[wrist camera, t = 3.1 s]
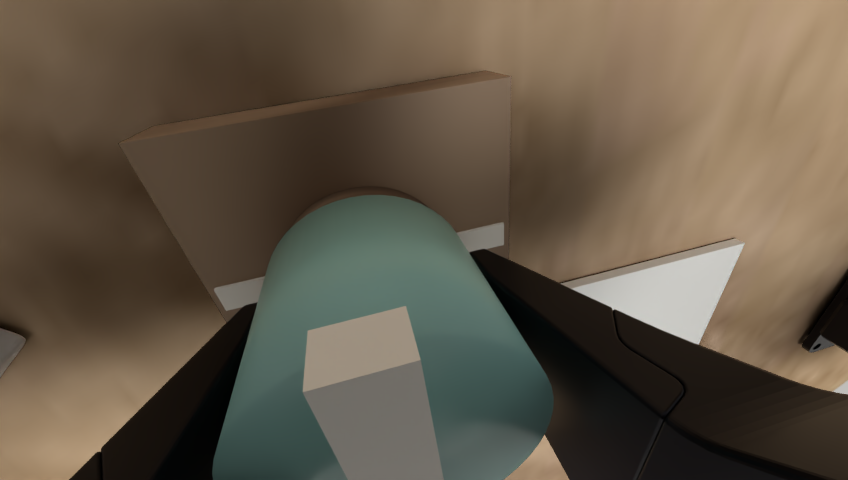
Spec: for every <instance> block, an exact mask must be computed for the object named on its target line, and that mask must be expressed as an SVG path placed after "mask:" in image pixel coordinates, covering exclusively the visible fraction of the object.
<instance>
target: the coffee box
mask: <svg viewBox="0 0 848 480" xmlns="http://www.w3.org/2000/svg"><path fill="white" fill-rule="evenodd" d="M25 342H26V339H25V338H24V337H23V336H21V335H19V334H17V333H14V332H11V331H8V330H5V329H2V328H0V377H1V376H2V374H3V373H4V371H5V370H6V369H7V367H8V366H9V365H10V363H11V362H12V361H13V359H14V358H15V357H16V355H17V354H18V352H19V351H20V350H21V348H22V347H23V346H24V344H25Z"/></svg>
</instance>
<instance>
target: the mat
mask: <svg viewBox="0 0 848 480" xmlns="http://www.w3.org/2000/svg"><path fill="white" fill-rule="evenodd" d="M744 244H745V243H744V242H742V241H740V240H738V239H736V238H735V239H731V240H727V241H723V242H719V243H715V244H711V245H708V246H704V247H700V248H696V249H692V250H688V251H684V252H681V253H677V254H673V255H669V256H665V257H661V258H657V259H653V260H650V261H646V262H642V263H638V264H634V265H630V266H626V267H623V268H619V269H615V270H611V271H607V272H603V273H599V274H596V275H592V276H588V277H584V278H580V279H576V280H572V281H569V282H565V283H561V284H562V285H564V286H566V287H569V288H571V289H573V290H575V291H577V292H579V293H582V294H584V295H586V296H588V297H590V298H592V299H594V300H597V301H599V302H601V303H603V304H605V305H607V306H609V307H611V308H612V310H614V309H616V310H618V311H621V312H623V313H625V314H627V315H629V316H631V317H633V318H636V319H638V320H640V321H643V322H645V323H647V324H649V325H652V326H654V327H656V328H658V329H661V330H663V331H665V332H668V333H670V334H673V335H675V336H678V337H680V338H683V339H685V340H688V341H690V342H693V343H695V344H699V342H700V340H701V338H702V336H703V334H704V331H705V329H706V327H707V325H708V323H709V320H710V318H711V316H712V314H713V312H714V310H715V307H716V305H717V303H718V301H719V299H720V296H721V294H722V292H723V290H724V288H725V286H726V283H727V281H728V279H729V277H730V275H731V272H732V270H733V268H734V266H735V264H736V262H737V259H738V257H739V255H740V253H741V251H742V248H743V246H744Z"/></svg>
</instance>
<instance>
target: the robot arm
mask: <svg viewBox="0 0 848 480" xmlns="http://www.w3.org/2000/svg"><path fill="white" fill-rule="evenodd" d="M469 253H470V255H471V256H472V258H473V260H474V261H475V263H476V264H477V266H478V267H479V269H480V271H481V272H482V274H483V275H484V277H485V279H486V280H487V282H488V283H489V285H490V286H491V288H492V290H493V291H494V293H495V294H496V296H497V298H498V299H499V301H500V302H501V304H502V305H503V307H504V309H505V310H506V312H507V313H508V315H509V316H510V318H511V320H512V321H513V323H514V324H515V326H516V328H517V329H518V331H519V332H520V334H521V335H522V337H523V339H524V340H525V342H526V343H527V345H528V347H529V348H530V350H531V351H532V353H533V354H534V356H535V358H536V359H537V361H538V362H539V364H540V365H541V367H542V369H543V370H544V372H545V373H546V375H547V377H548V379H549V382H550V384H551V386H552V391H553V397H554V403H553V412H552V417H551V421H550V423H549V426H548V428H547V430H546V433H545V436H546V438H547V439H548V441H549V443H550V445H551V447H552V448H553V450H554V452H555V454H556V456H557V458H558V459H559V461H560V463H561V465H562V467H563V468H564V470H565V472H566V474H567V476H568V477H569V479H570V480H848V395H847V394H840V393H835V392H831V391H826V390H822V389H818V388H814V387H811V386H807V385H804V384H800V383H798V382H795V381H792V380H789V379H786V378H784V377H781V376H778V375H776V374H773V373H771V372H768V371H765V370H763V369H760V368H758V367H755V366H752V365H750V364H747V363H745V362H742V361H739V360H737V359H734V358H732V357H729V356H726V355H724V354H721V353H719V352H716V351H713V350H711V349H708V348H706V347H703V346H700V345H698V344H695V343H693V342H690V341H688V340H685V339H683V338H680V337H678V336H675V335H673V334H670V333H668V332H665V331H663V330H661V329H658V328H656V327H654V326H652V325H649V324H647V323H645V322H643V321H640V320H638V319H636V318H633V317H631V316H629V315H627V314H625V313H623V312H621V311H618V310H616V309H614V310H612V308H611V307H609V306H607V305H605V304H603V303H601V302H599V301H597V300H594V299H592V298H590V297H588V296H586V295H584V294H582V293H579V292H577V291H575V290H573V289H571V288H569V287H566V286H564V285H562V284H560V283H558V282H556V281H554V280H551V279H549V278H547V277H545V276H543V275H541V274H538V273H536V272H534V271H532V270H530V269H528V268H526V267H523V266H521V265H519V264H517V263H515V262H513V261H510V260H508V259H506V258H504V257H502V256H500V255H498V254H495V253H493V252H491V251H489V250H487V249H479V250H475V251H471V252H469ZM257 303H258V302H256V303H252V304H248V305H245V306H243V307H242V308H241V309H240V310H239V311H238V312H237V313H236V314H235V315H234V316H233V317H232V318H231V319H230V320H229V321H228V322H227V323H226V324H225V325H224V326H223V327H222V328H221V329H220V330H219V331H218V332H217V333H216V334H215V335H214V336H213V337H212V338H211V339H210V340H209V341H208V342H207V343H206V344H205V345H204V346H203V347H202V348H201V349H200V350H199V351H198V352H197V353H196V354H195V355H194V356H193V357H192V358H191V359H190V360H189V361H188V362H187V363H186V364H185V365H184V366H183V367H182V368H181V369H180V370H179V371H178V372H177V373H176V374H175V375H174V376H173V377H172V378H171V379H170V380H169V381H168V382H167V383H166V384H165V385H164V386H163V387H162V388H161V389H160V390H159V391H158V392H157V393H156V394H155V395H154V396H153V397H152V398H151V399H150V400H149V401H148V402H147V403H146V404H145V405H144V406H143V407H142V408H141V409H140V410H139V411H138V412H137V413H136V414H135V415H134V416H133V417H132V418H131V419H130V420H129V421H128V422H127V423H126V424H125V425H124V426H123V427H122V428H121V429H120V430H119V431H118V432H117V433H116V434H115V435H114V436H113V437H112V438H111V439H110V440H109V441H108V442H107V443H106V444H105V445H104V446H103V447H102V448H101V452H97V453H96V454H95V455H94V456H93V457H92V458H91V459H90V460H89V461H88V462H87V463H86V464H85V465H84V466H83V467H82V468H81V469H80V470H79V471H78V472H77V473H76V474H75V475H74V476H73V477H72V478H70V479H69V480H213V476H212V470H213V460H214V456H215V452H216V449H217V445H218V441H219V438H220V434H221V431H222V427H223V424H224V420H225V417H226V413H227V409H228V406H229V402H230V399H231V395H232V392H233V388H234V385H235V381H236V377H237V374H238V370H239V367H240V363H241V360H242V356H243V353H244V349H245V345H246V342H247V338H248V335H249V331H250V328H251V324H252V321H253V317H254V313H255V310H256V306H257ZM834 345H836V346H838V347H839V348H841V349H843V350H844V351H846V352H848V279H847V281H846V282H845V284H844V285H843V286H842V288H841V289H840V291H839V292H838V294H837V295H836V297H835V298H834V299H833V301H832V302H831V304H830V305H829V307H828V308H827V309H826V311H825V312H824V314H823V315H822V317H821V318H820V319H819V321H818V322H817V324H816V325H815V327H814V328H813V329H812V331H811V332H810V334H809V335H808V337H807V338H806V339H805V341H804V342H803V344H802V347H803V348H804V349H806V350H807V351H809V352H815V351H818V350H821V349H824V348H828V347H831V346H834Z"/></svg>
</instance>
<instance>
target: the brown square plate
mask: <svg viewBox="0 0 848 480" xmlns="http://www.w3.org/2000/svg"><path fill="white" fill-rule="evenodd" d="M510 141H511V76H507V75H502V74H498V73H493V72H489V71H482V72H475V73H469V74H463V75H457V76H451V77H445V78H439V79H433V80H427V81H421V82H415V83H409V84H403V85H397V86H391V87H385V88H379V89H373V90H367V91H361V92H355V93H349V94H343V95H337V96H331V97H325V98H319V99H313V100H307V101H301V102H295V103H289V104H283V105H277V106H271V107H265V108H259V109H253V110H247V111H241V112H235V113H229V114H223V115H217V116H211V117H205V118H199V119H193V120H187V121H181V122H175V123H169V124H163V125H157V126H152V127H150V128H148V129H146V130H144V131H142V132H140V133H138V134H136V135H134V136H132V137H130V138H128V139H126V140H124V141H122V142H120V143H118V144H119V146H120V148H121V149H122V151H123V153H124V154H125V156H126V158H127V159H128V161H129V162H130V164H131V166H132V167H133V169H134V171H135V172H136V174H137V176H138V177H139V179H140V181H141V182H142V184H143V186H144V187H145V189H146V191H147V192H148V194H149V195H150V197H151V199H152V200H153V202H154V204H155V205H156V207H157V209H158V210H159V212H160V214H161V215H162V217H163V219H164V220H165V222H166V224H167V225H168V227H169V229H170V230H171V232H172V233H173V235H174V237H175V238H176V240H177V242H178V243H179V245H180V247H181V248H182V250H183V252H184V253H185V255H186V257H187V258H188V260H189V262H190V263H191V265H192V266H193V268H194V270H195V271H196V273H197V275H198V276H199V278H200V280H201V281H202V283H203V285H204V286H205V288H206V290H207V291H208V293H209V295H210V296H211V298H212V299H213V301H214V303H215V304H216V306H217V308H218V309H219V311H220V313H221V314H222V316H223V318H224V319H225V321H226V323H227V322H228V321H229V320H230V319H231V318H232V317H233V316H234V315H235V314H236V313H237V312H238V311H239V310H240V309H241V308H242V307H243V306H245V305H248V304H252V303H256V302H258V299H259V296H260V292H261V289H262V285H263V281H264V278H265V274H266V271H267V267H268V264H269V261H270V258H271V255H272V254H273V252H274V250H275V248H276V246H277V244H278V243H279V241H280V240H281V239H282V237H283V236H284V235H285V234H286V232H287V231H288V230H290V229H291V228H292V227H293V226H294V225H295V224H296V223H297V222H298V221H300V220H301V219H302V218H304V217H305V216H306V215H308V214H309V213H311V212H313V211H315V210H317V209H318V208H320V207H322V206H325V205H327V204H330V203H332V202H335V201H338V200H342V199H346V198H349V197H356V196H363V195H387V196H396V197H400V198H405V199H409V200H412V201H414V202H417V203H420V204H422V205H424V206H426V207H428V208H430V209H432V210H433V211H435V212H436V213H437V214H439V215H440V216H442V217H443V218H444V219H445V220H446V221H447V222H448V223H449V224H450V225H451V226H452V228H453V229H454V230H455V232H456V233H457V234H458V236H459V237H460V239H461V241H462V242H463V244H464V245H465V247H466V249H467V250H468V252H471V251H475V250H479V249H487V250H489V251H491V252H493V253H495V254H498V255H500V256H502V257H504V258H506V259H508V260H509V207H510Z"/></svg>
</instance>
